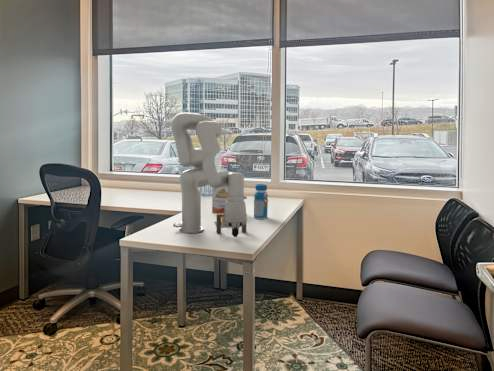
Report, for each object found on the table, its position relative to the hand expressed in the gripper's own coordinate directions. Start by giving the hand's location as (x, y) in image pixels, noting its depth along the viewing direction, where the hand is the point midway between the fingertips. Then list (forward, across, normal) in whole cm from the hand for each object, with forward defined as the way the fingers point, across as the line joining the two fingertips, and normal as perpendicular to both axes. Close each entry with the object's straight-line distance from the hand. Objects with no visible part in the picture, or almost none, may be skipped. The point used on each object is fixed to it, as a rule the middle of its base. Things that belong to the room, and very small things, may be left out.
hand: (235, 236), depth 185 cm
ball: (-2, 0, -31) cm, 31 cm away
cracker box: (+2, -2, -62) cm, 62 cm away
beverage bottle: (+2, -22, -44) cm, 49 cm away
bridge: (+2, 0, -13) cm, 13 cm away
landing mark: (+2, 0, -30) cm, 30 cm away
